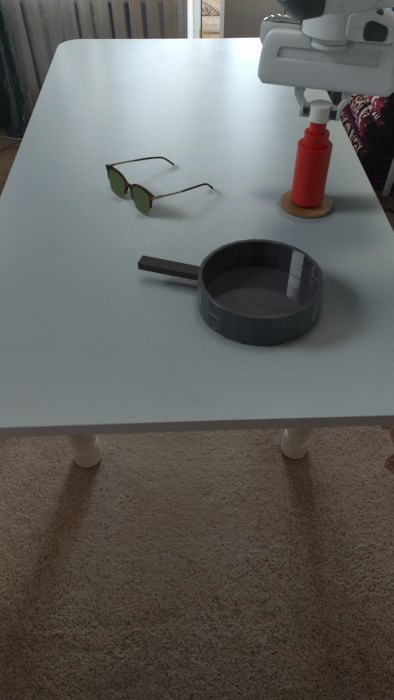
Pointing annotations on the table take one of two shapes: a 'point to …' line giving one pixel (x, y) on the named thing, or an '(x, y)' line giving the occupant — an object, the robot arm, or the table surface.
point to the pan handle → (168, 267)
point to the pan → (259, 291)
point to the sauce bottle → (313, 157)
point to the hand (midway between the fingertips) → (319, 117)
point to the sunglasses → (137, 187)
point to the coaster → (305, 211)
